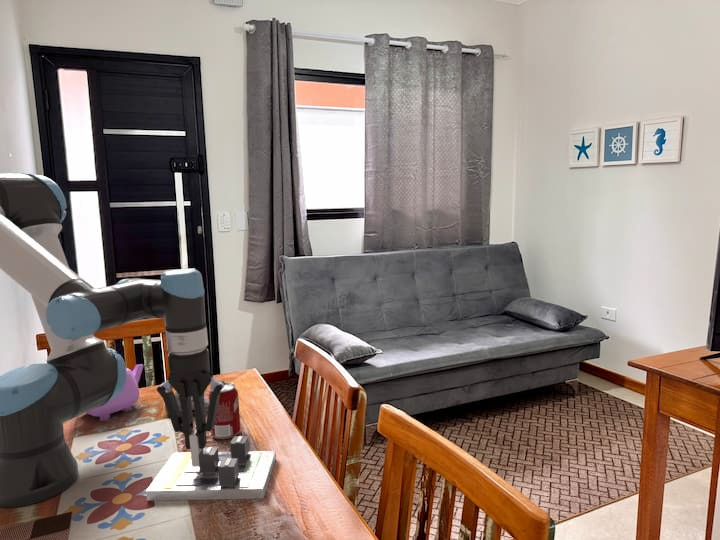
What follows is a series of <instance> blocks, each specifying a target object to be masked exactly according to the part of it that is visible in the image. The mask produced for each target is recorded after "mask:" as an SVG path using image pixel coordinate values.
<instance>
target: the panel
mask: <svg viewBox="0 0 720 540" xmlns="http://www.w3.org/2000/svg"><path fill="white" fill-rule="evenodd" d="M276 453H277V451H276V450H262V451H261V450H253V451H252V450H251V451H250V450H249V453H248V455H247V457H246V459H238V471H239V476H238V478H237V480H236V483H235V484H219V474H218V466H219V464H220V462H221V460H222V459H227V458H231V451H218V455H219V464H218V466H217V468H216V470H215V471H207V472H200V467H199V466H194V467H192V462H191V452H173V453H172V455H171V456H170V457H169V459H168V460H167V462H165V465H164V466H163V467H162V468H161V469H160V471H159V473H157V476H155V478H154V480H153V481H152V482H151V483H150V485H149V486H148V488H147V489H146V491H145V492H146V501H149V502H151V501H159V502H160V501H196V500H197V501H201V500H203V501H204V500H206V501H207V500H259V499H260V500H261V499H265V495H266V492H267V489H268V486H269V482H270V480H271V477H272V473H273V470H274V468H275V464H276V461H277V454H276Z"/></svg>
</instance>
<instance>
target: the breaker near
mask: <svg viewBox="0 0 720 540" xmlns="http://www.w3.org/2000/svg"><path fill="white" fill-rule="evenodd" d="M218 474H219V484H235V483H236V480H237V478H238V476H239V471H238V458H227V459H222V460H221V462H220V464H219V466H218Z"/></svg>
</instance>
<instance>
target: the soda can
mask: <svg viewBox="0 0 720 540" xmlns="http://www.w3.org/2000/svg"><path fill="white" fill-rule="evenodd" d="M224 382H225V381H224ZM235 385H236V384H235V383H233V382H225V385H224V387H223V389H222V390H221V392H220V398H219V403H218V409H217V415H216V420H215V425H214V426H213V428H212V429H211V431H210V434H211V436H212V437H213V438H215V439H219V440H229V439H233V437H234V436H237V435H238V434H239V433H241V418H240V402H239V391H238V390H237V388H236V386H235ZM211 394H212V391H211V390H210V392H209V393H208V401H209V404H210V398H211Z"/></svg>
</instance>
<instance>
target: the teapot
mask: <svg viewBox="0 0 720 540" xmlns="http://www.w3.org/2000/svg"><path fill="white" fill-rule="evenodd" d="M143 369H144V364H142V363H140V364H135V367H134V368H133V369H132V370H131V369H129V367H126V371H127V379H126V384H125V385H124V389H123V391H122V392H121V394H120V395H119V396H118V397H116V398H115V399H113V400H111V401H109V402H108V403H107V404H105V405H103V406H100V407H97V408H95V409H92V410H90V411H88V412H86V413H85V414H87V415H90V416H92V417H99V421H107V420H109V419H110V418H111V414H114V413H116V412H119V411H122V412H126V413H127V412H130V411H132V410H133V407H132V406H133V405H136V404H137V403H138V401H139V398H140V390H139V382H140V380H141V375H142V372H143Z"/></svg>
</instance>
